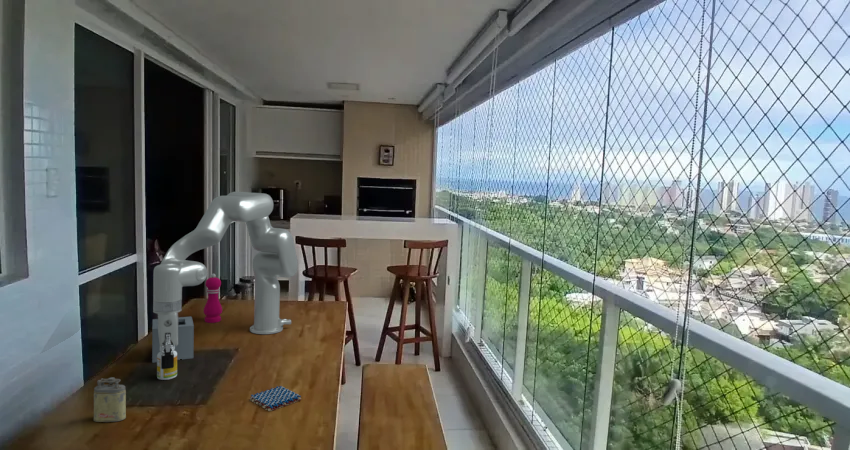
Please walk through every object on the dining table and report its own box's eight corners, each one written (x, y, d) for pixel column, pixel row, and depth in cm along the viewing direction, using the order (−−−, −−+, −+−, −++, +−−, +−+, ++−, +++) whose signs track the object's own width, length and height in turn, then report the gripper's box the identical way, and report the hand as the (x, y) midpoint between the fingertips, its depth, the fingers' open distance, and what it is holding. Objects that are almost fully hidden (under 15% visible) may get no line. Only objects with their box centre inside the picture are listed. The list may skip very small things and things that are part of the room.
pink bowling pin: (203, 319, 212) (203, 272, 210) (221, 318, 215) (222, 271, 213) (203, 323, 205) (204, 275, 203) (222, 322, 208) (223, 274, 206)
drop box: (191, 347, 177) (191, 316, 176) (193, 358, 166) (193, 325, 166) (152, 350, 171) (152, 319, 170) (152, 362, 161) (152, 329, 160)
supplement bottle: (180, 374, 153) (181, 342, 152) (170, 381, 147) (170, 348, 147) (164, 372, 153) (164, 341, 153) (152, 379, 148) (153, 347, 147)
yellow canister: (128, 415, 125) (128, 376, 125) (121, 422, 122) (121, 382, 121) (98, 415, 125) (97, 376, 124) (89, 423, 121) (89, 382, 120)
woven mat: (280, 390, 146) (280, 383, 145) (302, 402, 139) (303, 395, 139) (247, 401, 138) (247, 394, 137) (269, 414, 131) (270, 406, 131)
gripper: (183, 312, 143) (182, 371, 144) (180, 298, 158) (179, 352, 159) (153, 314, 139) (152, 374, 141) (153, 300, 154) (153, 355, 156)
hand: (167, 362), depth 150 cm, fingers open, 8 cm apart
